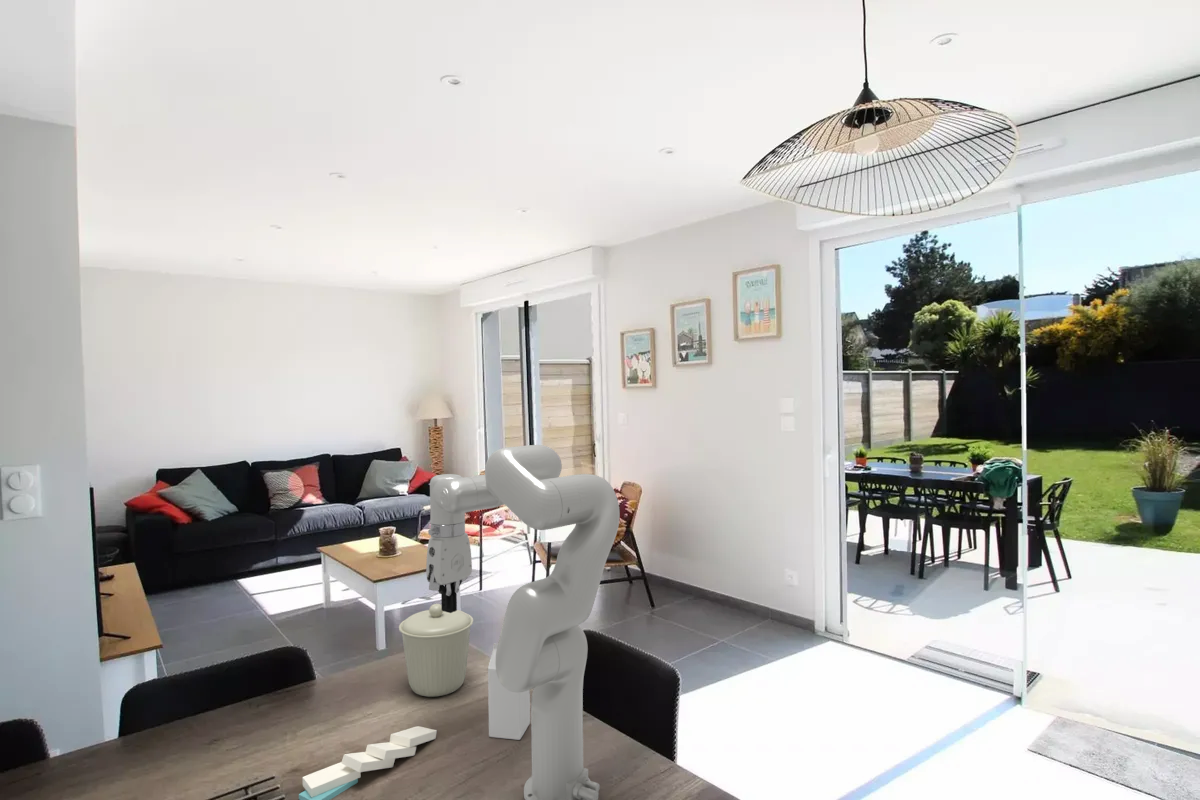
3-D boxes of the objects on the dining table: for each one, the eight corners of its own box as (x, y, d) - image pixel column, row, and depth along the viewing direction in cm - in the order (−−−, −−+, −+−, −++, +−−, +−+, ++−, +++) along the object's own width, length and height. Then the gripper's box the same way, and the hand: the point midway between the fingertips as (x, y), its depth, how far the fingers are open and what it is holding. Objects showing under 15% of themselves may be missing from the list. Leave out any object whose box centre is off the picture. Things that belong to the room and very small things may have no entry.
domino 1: (360, 768, 124) (311, 788, 118) (360, 777, 124) (311, 797, 118) (350, 758, 127) (302, 777, 121) (350, 766, 127) (302, 785, 121)
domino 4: (416, 746, 133) (386, 750, 126) (414, 755, 133) (383, 759, 125) (398, 741, 136) (367, 744, 128) (396, 749, 135) (365, 753, 128)
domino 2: (357, 777, 124) (315, 803, 116) (358, 785, 124) (315, 811, 116) (341, 769, 126) (298, 794, 119) (341, 777, 126) (298, 802, 119)
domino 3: (395, 758, 129) (362, 762, 122) (392, 767, 129) (359, 772, 121) (377, 750, 132) (344, 754, 124) (374, 758, 131) (341, 763, 124)
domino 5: (436, 730, 139) (410, 738, 131) (435, 738, 139) (409, 747, 131) (417, 725, 141) (390, 734, 133) (416, 734, 141) (389, 742, 133)
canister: (489, 681, 166) (487, 600, 165) (436, 712, 150) (434, 622, 150) (438, 666, 175) (437, 589, 175) (384, 693, 160) (382, 608, 159)
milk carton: (520, 740, 138) (519, 652, 137) (488, 737, 139) (487, 649, 139) (530, 723, 145) (529, 639, 144) (500, 720, 146) (499, 637, 146)
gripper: (434, 538, 137) (435, 624, 137) (483, 525, 150) (484, 604, 150) (410, 534, 141) (411, 618, 141) (460, 522, 154) (461, 598, 154)
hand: (449, 610), depth 146 cm, fingers closed
